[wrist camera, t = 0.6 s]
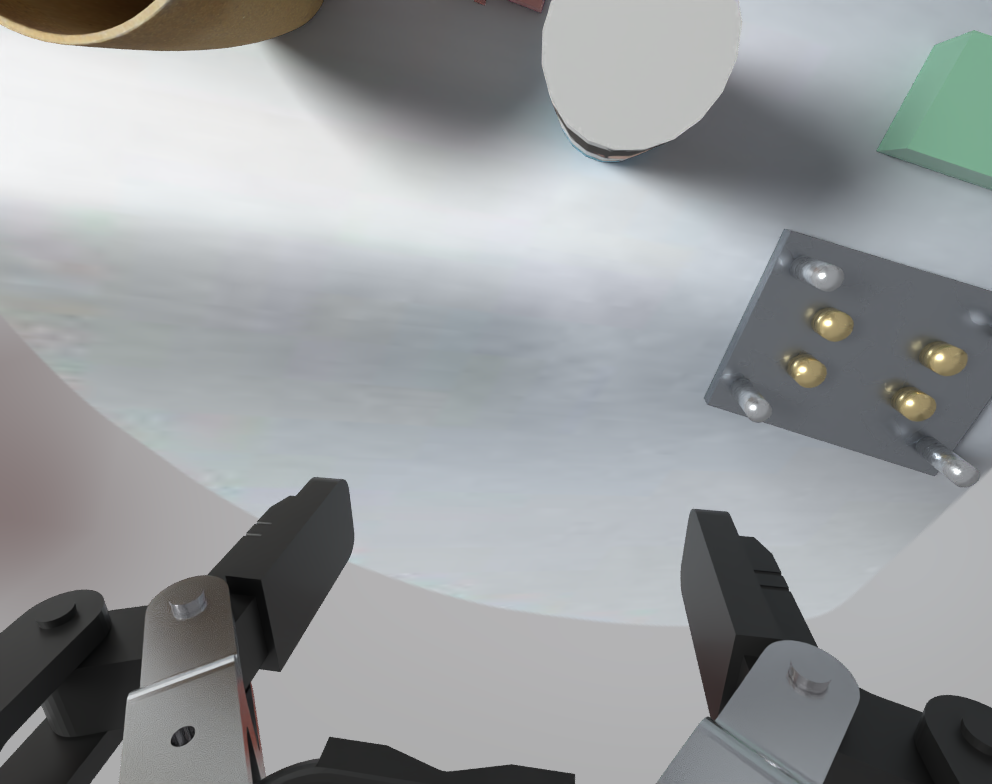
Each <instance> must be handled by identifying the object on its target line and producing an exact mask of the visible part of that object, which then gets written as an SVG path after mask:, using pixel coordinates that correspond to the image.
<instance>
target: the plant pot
mask: <svg viewBox="0 0 992 784" xmlns="http://www.w3.org/2000/svg"><path fill="white" fill-rule="evenodd" d="M323 1H324V0H0V24H1V25H3V26H4V27H6V28H8V29H10V30H13V31H15V32H18V33H20V34H23V35H25V36H28V37H31V38H34V39H38V40H41V41H45V42H51V43H57V44H64V45H75V46H87V47H100V48H115V49H131V50H152V51H190V50H208V49H220V48H229V47H236V46H242V45H247V44H252V43H257V42H260V41H264V40H268V39H271V38H274V37H277V36H280V35H283V34H285V33H288V32H290V31H293V30H295V29H297V28H299V27H301V26H302V25H304V24H305V23H307V22H308V21H309V20H310V19H311V18H312V17H313V16H314V15H315V14H316V13H317V11H318V10H319V8H320V7H321V5H322V3H323Z"/></svg>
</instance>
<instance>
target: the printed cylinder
mask: <svg viewBox="0 0 992 784" xmlns="http://www.w3.org/2000/svg"><path fill="white" fill-rule="evenodd" d="M741 26H742V18H741V12H740V5H739V0H551V3H550V7H549V10H548V13H547V17H546V20H545V23H544V27H543V30H542V68H543V72H544V76H545V80H546V84H547V87H548V91H549V95H550V98H551V101H552V103H553V106H554V108H555V111H556V114H557V116H558V119H559V121H560V124H561V127H562V129H563V131H564V133H565V134H566V136H567V138H568V139H569V141H570V142H571V144H572V146H574V147H575V148H576V149H577V150H579V151H580V152H581V153H582V154H584V155H585V156H586V157H589V158H592V159H595V160H598V161H601V162H619V161H622V160H625V159H628V158H631V157H634V156H637V155H639V154H641V153H643V152H646V151H648V150H650V149H653V148H655V147H657V146H660V145H662V144H664V143H667V142H669V141H671V140H673V139H675V138H676V137H678V136H679V135H680V134H682V133H683V132H685V131H686V130H687V129H689V128H690V127H691V126H693V125H694V124H696V123H697V122H698V121H700V120H701V119H702V118H703V116H704V115H705V114H706V112H707V111H708V110H709V109H710V107H711V106H712V105H713V104H714V102H715V101H716V100H717V99H718V97H719V96H720V95H721V94H722V92H723V90H724V88H725V85H726V83H727V81H728V78H729V76H730V74H731V71H732V69H733V67H734V64H735V62H736V60H737V55H738V48H739V41H740V33H741Z"/></svg>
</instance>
